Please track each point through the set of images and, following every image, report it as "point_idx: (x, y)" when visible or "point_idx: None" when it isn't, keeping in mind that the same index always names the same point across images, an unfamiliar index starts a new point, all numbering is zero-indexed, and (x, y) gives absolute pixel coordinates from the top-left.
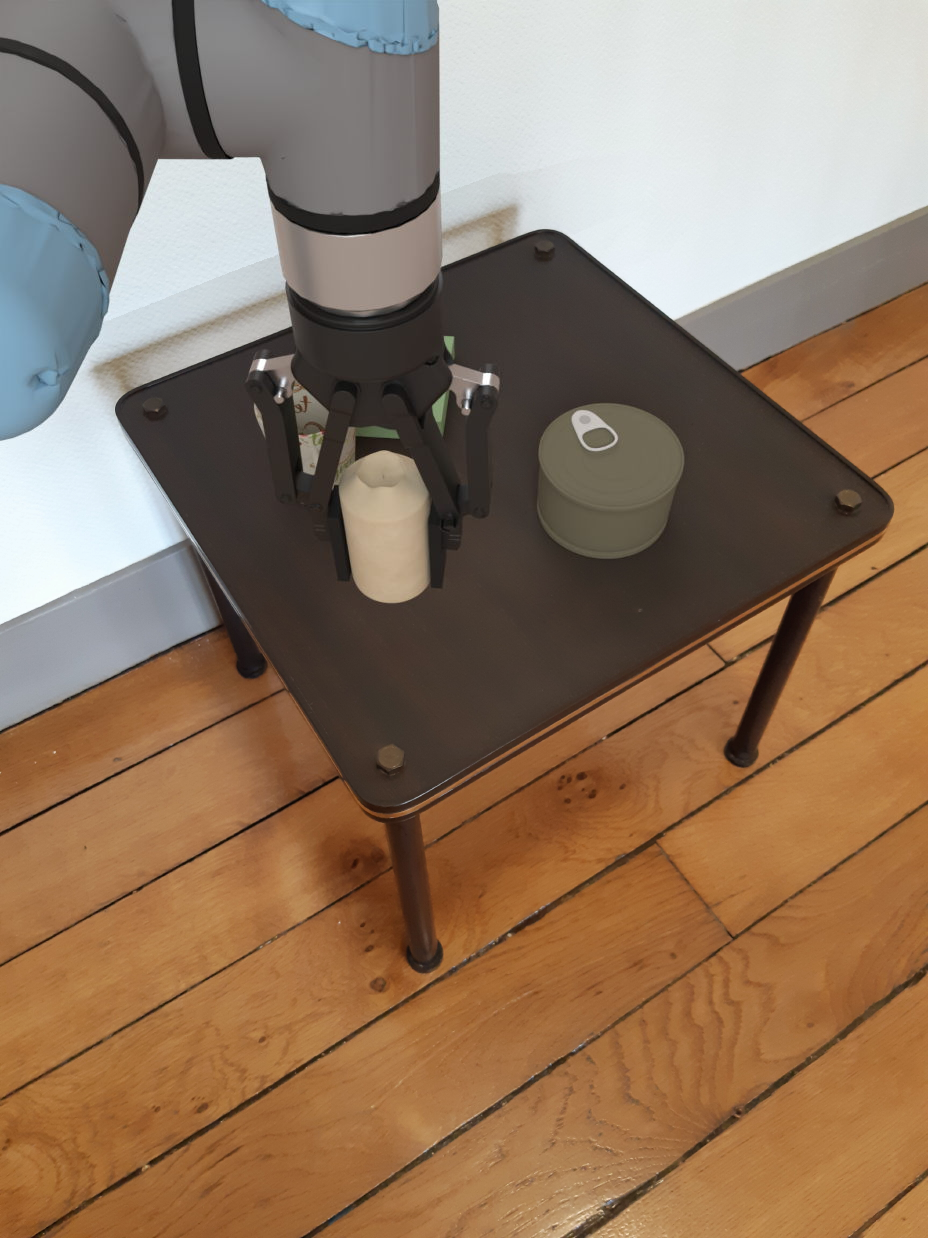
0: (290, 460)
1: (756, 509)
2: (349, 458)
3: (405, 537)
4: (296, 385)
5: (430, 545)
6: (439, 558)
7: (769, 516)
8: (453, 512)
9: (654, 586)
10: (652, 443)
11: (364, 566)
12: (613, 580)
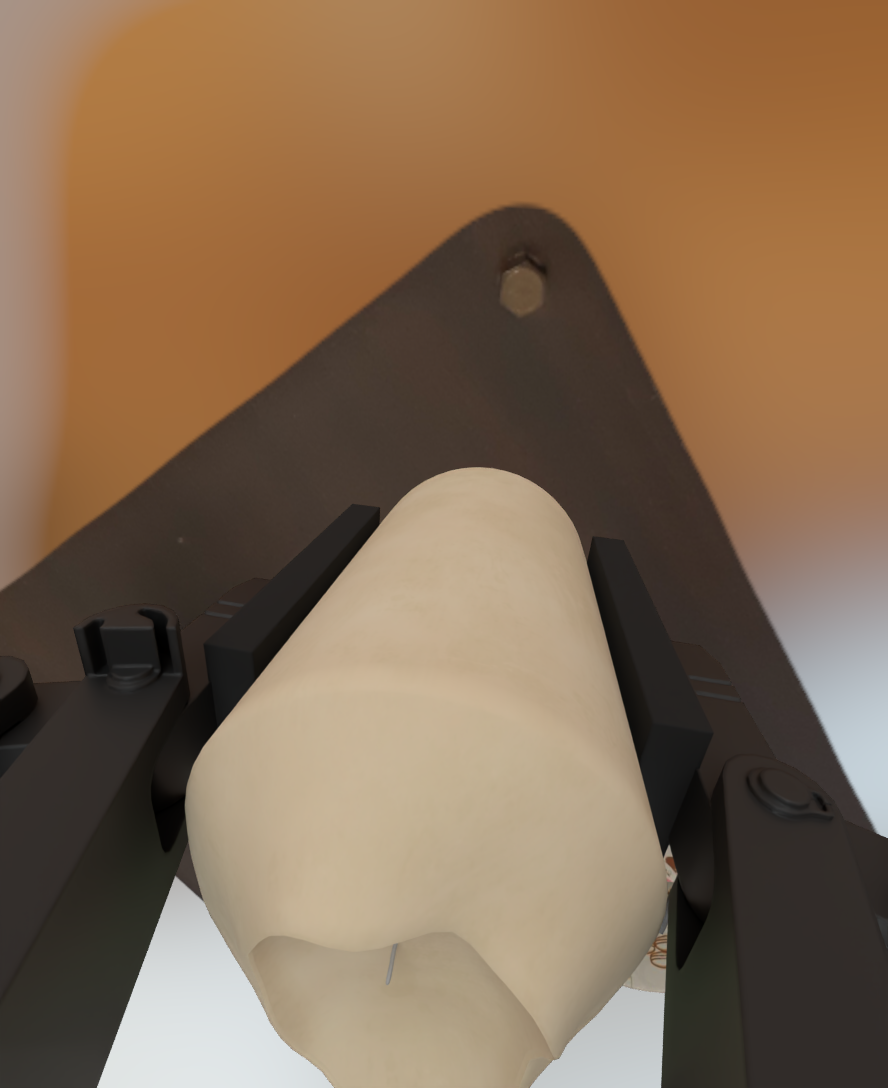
0: None
1: (69, 669)
2: None
3: (343, 600)
4: (663, 950)
5: (306, 586)
6: (306, 553)
7: (53, 659)
8: (91, 694)
9: (167, 574)
10: None
11: (544, 535)
12: (218, 586)
